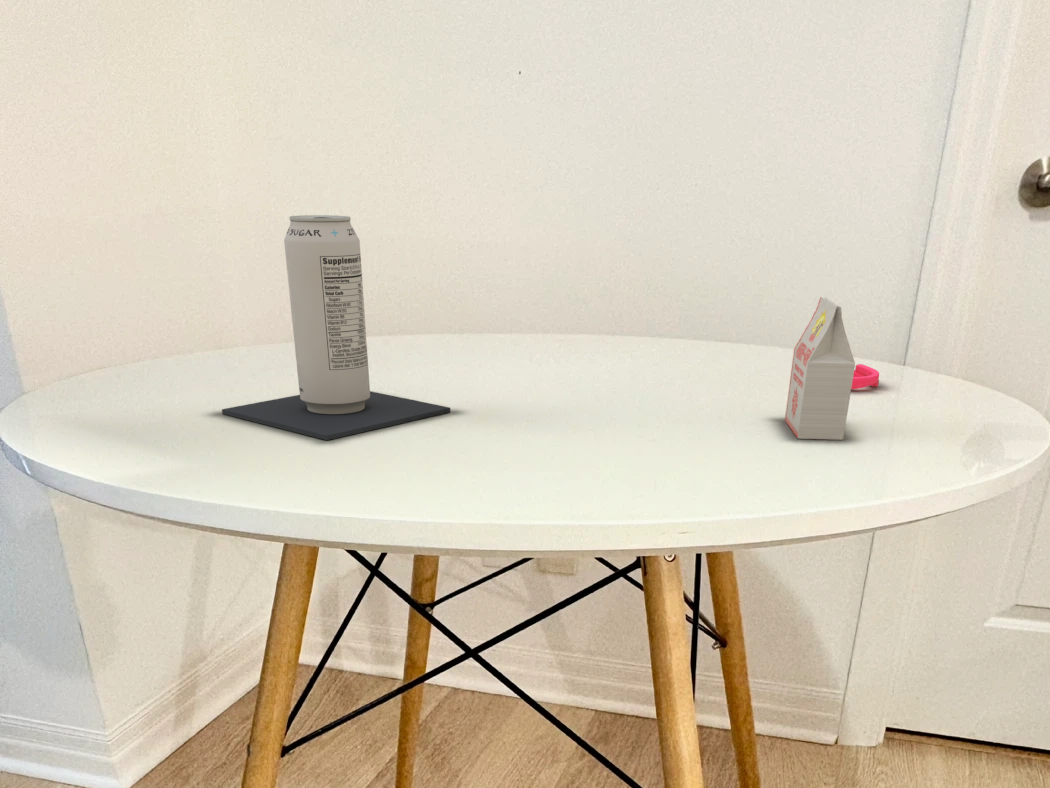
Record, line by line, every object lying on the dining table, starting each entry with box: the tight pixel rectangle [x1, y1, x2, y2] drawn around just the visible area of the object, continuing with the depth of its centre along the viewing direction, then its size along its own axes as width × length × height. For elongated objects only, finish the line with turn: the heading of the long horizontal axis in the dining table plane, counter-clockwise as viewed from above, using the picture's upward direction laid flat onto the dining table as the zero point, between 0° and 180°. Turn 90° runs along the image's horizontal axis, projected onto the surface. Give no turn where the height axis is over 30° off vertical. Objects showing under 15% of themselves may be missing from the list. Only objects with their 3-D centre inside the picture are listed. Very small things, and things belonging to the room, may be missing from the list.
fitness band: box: [851, 363, 880, 390], centre depth 102 cm, size 8×6×2 cm
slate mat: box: [221, 390, 451, 441], centre depth 88 cm, size 14×14×1 cm
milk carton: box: [784, 296, 856, 441], centre depth 82 cm, size 4×7×10 cm, turn 176°
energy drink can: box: [283, 214, 371, 414], centre depth 84 cm, size 6×6×15 cm
